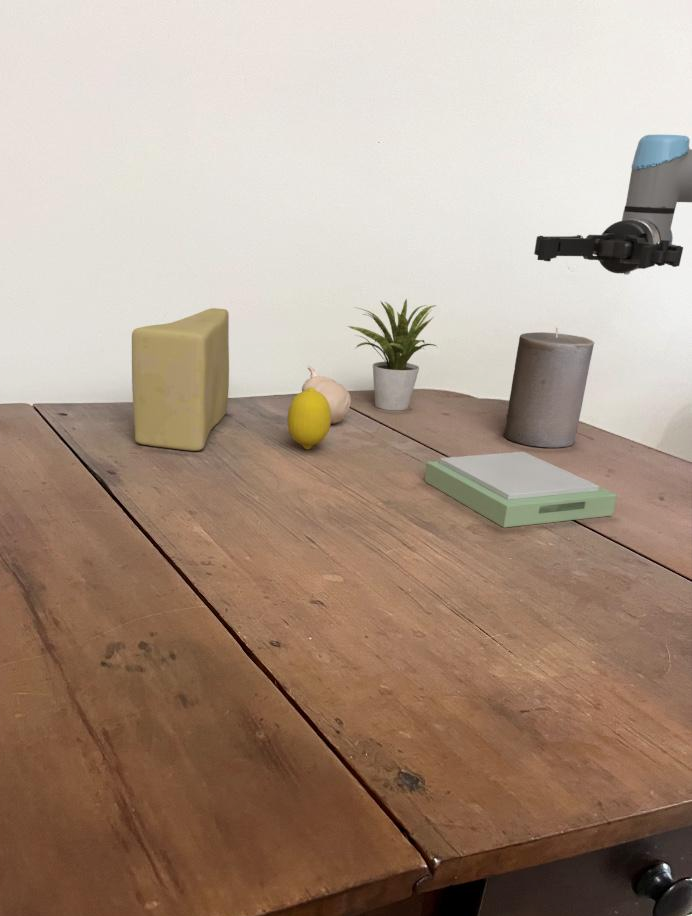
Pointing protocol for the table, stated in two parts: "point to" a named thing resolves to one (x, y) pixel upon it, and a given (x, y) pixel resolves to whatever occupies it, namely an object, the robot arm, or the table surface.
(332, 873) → the table surface
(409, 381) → the house plant
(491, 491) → the scale
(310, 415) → the lemon
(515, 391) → the pillar candle
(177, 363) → the cheese
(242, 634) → the table surface
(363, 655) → the table surface
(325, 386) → the garlic bulb
